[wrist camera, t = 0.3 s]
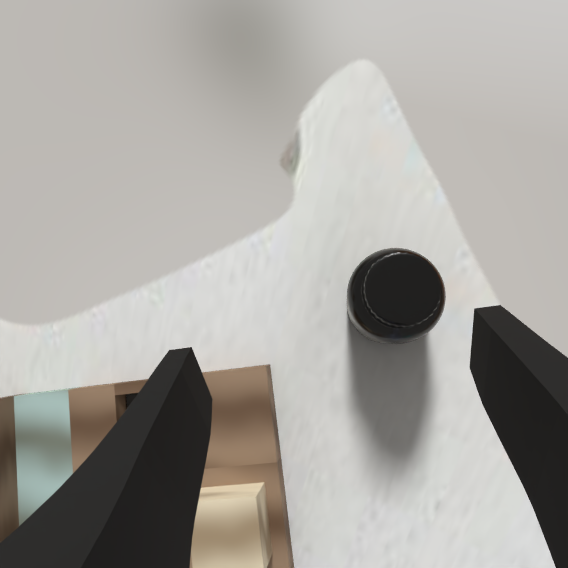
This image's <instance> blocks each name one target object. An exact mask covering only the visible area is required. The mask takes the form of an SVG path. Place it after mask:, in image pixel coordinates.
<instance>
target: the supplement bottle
mask: <svg viewBox="0 0 568 568" xmlns="http://www.w3.org/2000/svg"><path fill="white" fill-rule="evenodd" d="M445 298H446V296H445V287H444V283H443V280H442V277H441V275H440V273H439V272H438V270H437V269H436V267H435V266H434V265H433V264H432V263H431V262H430V261H429V260H428V259H426V258H425V257H424V256H422V255H420V254H419V253H416V252H414V251H411V250H408V249H402V248H389V249H384V250H380V251H378V252H375V253H373V254H371V255H370V256H368V257H367V258H365V259H364V260H363V261H362V262H361V263H360V264H359V265H358V266H357V268H356V269H355V271H354V272H353V274H352V276H351V278H350V281H349V284H348V290H347V310H348V315H349V318H350V320H351V322H352V324H353V325H354V327H355V328H356V329H357V330H358V331H359V332H360V333H361V334H362V335H363V336H365V337H366V338H368V339H370V340H373V341H376V342H379V343H391V344H399V343H407V342H411V341H414V340H416V339H419V338H420V337H422V336H424V335H425V334H427V333H428V332H429V331H430V330H431V329H432V328H433V327H434V326H435V325H436V324H437V322H438V321H439V319H440V317H441V315H442V313H443V310H444V306H445Z"/></svg>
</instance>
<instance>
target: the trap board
mask: <svg viewBox="0 0 568 568" xmlns="http://www.w3.org/2000/svg"><path fill="white" fill-rule="evenodd" d="M202 374H203V377H204V379H205V382H206V384H207V386H208V389H209V391H210V394H211V396H212V399H213V401H212V421H211V435H210V441H209V447H208V452H207V458H206V463H205V469H204V474H203V479H202V485H201V488H204V487H215V486H227V485H239V484H250V483H262V482H265V490H266V499H267V508H268V517H269V525H270V534H271V543H272V555H271V558H270V561H269V563H268V566H267V568H294V563H293V555H292V546H291V538H290V530H289V521H288V513H287V504H286V496H285V487H284V479H283V470H282V462H281V454H280V445H279V437H278V428H277V420H276V411H275V403H274V394H273V386H272V377H271V369H270V365H261V366H253V367H245V368H237V369H228V370H220V371H212V372H203V373H202ZM147 380H148V379H145V380H137V381H129V382H121V383H112V384H104V385H96V386H88V387H79V388H71V389H63V390H54V391H46V392H38V393H30V394H21V395H14V396H8V397H2V398H0V543H1V542H2V541H3V540H4V539H5V538H7V537H8V536H9V535H10V534H11V533H12V532H13V531H15V530H16V529H17V528H18V527H19V526H20V525H21V524H22V523H23V522H24V521H25V520H26V519H27V518H28V517H30V516H31V515H32V514H33V513H34V512H35V511H36V510H37V509H38V508H39V507H40V506H41V505H42V504H43V503H44V502H45V501H46V500H47V499H48V498H49V497H51V496H52V495H53V494H54V493H55V492H56V491H57V490H58V489H59V488H60V487H61V486H62V485H63V483H64V482H65V481H66V480H67V479H68V478H69V477H70V476H71V475H72V474H73V473H74V472H75V471H76V470H77V469H78V468H79V467H80V465H81V464H82V463H83V462H84V461H85V460H86V459H87V458H88V456H89V455H90V454H91V453H92V452H93V451H94V450H95V448H96V447H97V446H98V445H99V443H100V442H101V441H102V440H103V438H104V437H105V436H106V435H107V434H108V432H109V431H110V430H111V429H112V427H113V426H114V425H115V424H116V422H117V421H118V420H119V418H120V417H121V416H122V415H123V413H124V412H125V410H126V409H127V408H128V406H129V405H130V404H131V402H132V401H133V400H134V398H135V397H136V396H137V394H131V393H139V392H140V390H141V389H142V387H143V386H144V385H145V383H146V382H147ZM126 394H129V395H126ZM126 396H127V401H126ZM190 568H193V567H192V556H191V557H190Z"/></svg>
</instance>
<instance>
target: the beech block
mask: <svg viewBox="0 0 568 568" xmlns="http://www.w3.org/2000/svg"><path fill="white" fill-rule="evenodd" d="M271 555H272V543H271V534H270V525H269V517H268V508H267V499H266V490H265V482H262V483H250V484H239V485H227V486H215V487H204V488H201V490H200V495H199V501H198V506H197V511H196V516H195V523H194V529H193V536H192V546H191V556H192V567H193V568H267V566H268V563H269V561H270V558H271Z"/></svg>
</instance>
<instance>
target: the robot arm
mask: <svg viewBox="0 0 568 568" xmlns="http://www.w3.org/2000/svg"><path fill="white" fill-rule="evenodd" d="M470 370H471V373H472V375H473V378H474V381H475V384H476V387H477V390H478V393H479V396H480V398H481V401H482V404H483V406H484V408H485V410H486V412H487V414H488V416H489V418H490V420H491V422H492V424H493V426H494V429H495V431H496V433H497V435H498V437H499V439H500V441H501V443H502V445H503V447H504V449H505V451H506V453H507V455H508V457H509V459H510V461H511V463H512V465H513V467H514V469H515V471H516V473H517V475H518V476H519V478H520V480H521V482H522V484H523V486H524V489H525V491H526V493H527V495H528V497H529V500H530V502H531V504H532V506H533V509H534V511H535V514H536V516H537V519H538V522H539V524H540V527H541V529H542V532H543V535H544V537H545V540H546V542H547V545H548V548H549V550H550V553H551V556H552V558H553V561H554V564H555V567H556V568H568V358H567V357H566V356H565V355H563V354H562V353H561V352H559V351H558V350H557V349H555V348H554V347H553V346H551V345H550V344H549V343H548V342H546V341H545V340H544V339H542V338H541V337H540V336H538V335H537V334H536V333H535V332H533V331H532V330H531V329H530V328H528V327H527V326H526V325H524V324H523V323H522V322H521V321H520V320H518V319H517V318H516V317H515V316H513V315H512V314H511V313H510V312H508V311H507V310H506V309H505V308H503V307H502V306H501V305H498V306H491V307H483V308H476V309H474V321H473V333H472V345H471V357H470ZM212 401H213V399H212V396H211V394H210V391H209V389H208V386H207V384H206V382H205V379H204V377H203V374H202V372H201V369H200V367H199V364H198V362H197V360H196V357H195V355H194V352H193V350H192V347H190V348H182V349H175V350H169V351H168V353H167V354H166V355H165V357H164V358H163V359H162V361H161V362H160V364H159V365H158V366H157V368H156V369H155V371H154V372H153V373H152V375H151V376H150V378H149V379H148V380H147V382H146V383H145V385H144V386H143V387H142V389H141V390H140V392H139V393H138V394H137V396H136V397H135V398H134V400H133V401H132V402H131V404H130V405H129V406H128V408H127V409H126V410H125V412H124V413H123V415H122V416H121V417H120V418H119V420H118V421H117V422H116V424H115V425H114V426H113V427H112V429H111V430H110V431H109V432H108V434H107V435H106V436H105V437H104V438H103V440H102V441H101V442H100V443H99V445H98V446H97V447H96V448H95V450H94V451H93V452H92V453H91V454H90V455H89V456H88V458H87V459H86V460H85V461H84V462H83V463H82V464H81V465H80V467H79V468H78V469H77V470H76V471H75V472H74V473H73V474H72V475H71V476H70V477H69V478H68V479H67V480H66V481H65V482H64V483H63V485H62V486H61V487H60V488H59V489H58V490H57V491H56V492H55V493H54V494H53V495H52V496H51V497H49V498H48V499H47V500H46V501H45V502H44V503H43V504H42V505H41V506H40V507H39V508H38V509H37V510H36V511H35V512H34V513H33V514H32V515H31V516H30V517H28V518H27V519H26V520H25V521H24V522H23V523H22V524H21V525H20V526H19V527H18V528H17V529H16V530H15V531H13V532H12V533H11V534H10V535H9V536H8V537H7V538H5V539H4V540H3V541H2V542H1V543H0V568H190V557H191V546H192V536H193V529H194V523H195V516H196V511H197V506H198V501H199V495H200V490H201V485H202V479H203V474H204V469H205V463H206V458H207V452H208V447H209V441H210V435H211V421H212Z"/></svg>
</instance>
